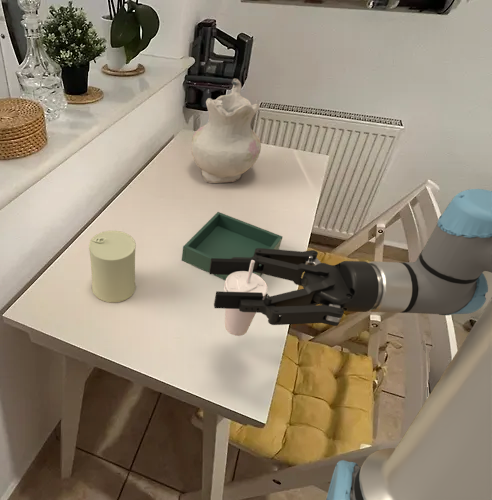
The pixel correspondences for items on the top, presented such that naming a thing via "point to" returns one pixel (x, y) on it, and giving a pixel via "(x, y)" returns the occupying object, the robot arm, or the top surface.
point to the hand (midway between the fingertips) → (213, 282)
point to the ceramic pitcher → (226, 138)
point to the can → (112, 265)
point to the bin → (227, 242)
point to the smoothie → (242, 282)
